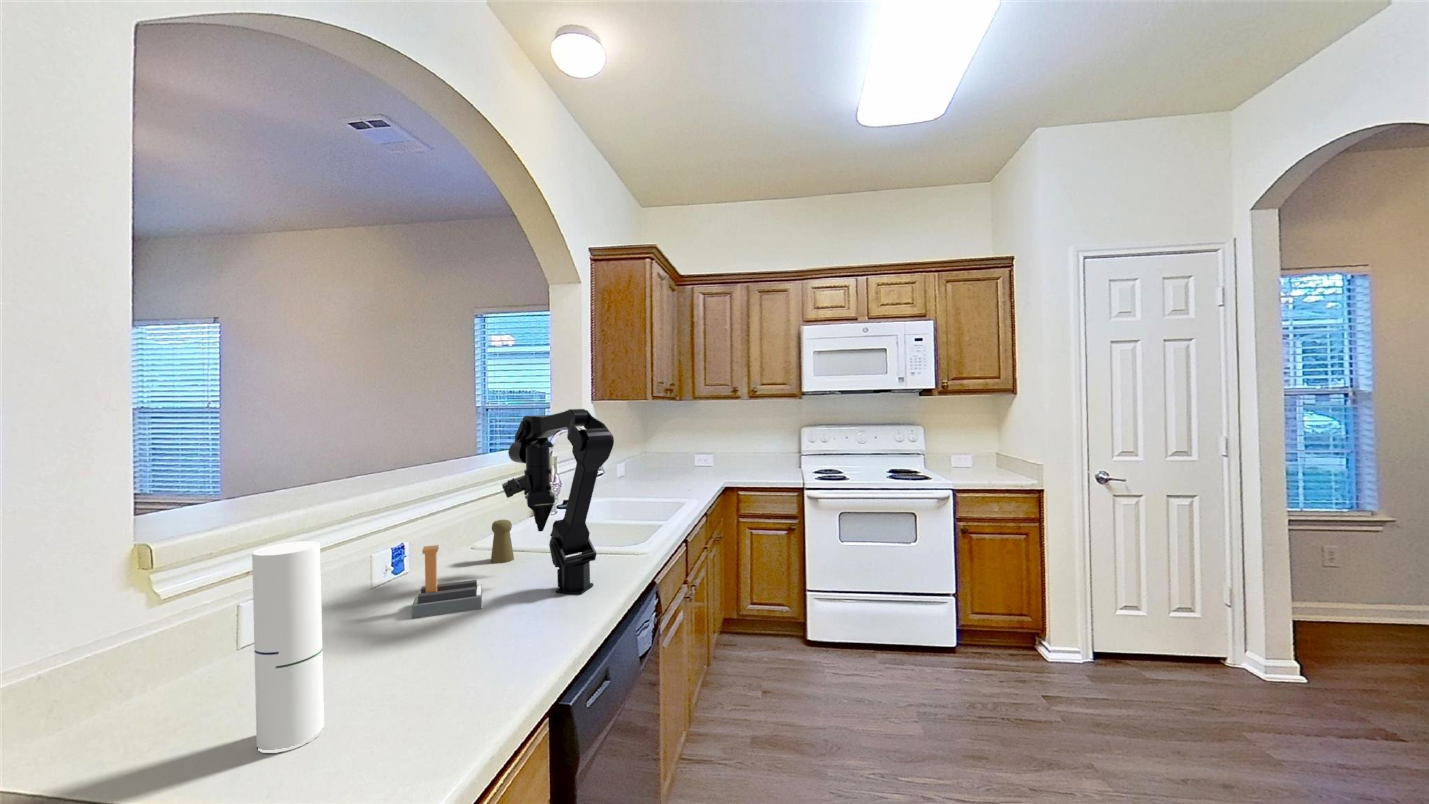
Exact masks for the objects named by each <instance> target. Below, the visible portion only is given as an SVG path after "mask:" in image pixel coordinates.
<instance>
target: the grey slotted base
mask: <svg viewBox="0 0 1429 804" xmlns="http://www.w3.org/2000/svg"><path fill="white" fill-rule="evenodd" d="M482 600H483V584H478V581H477V579H472V580H462V581H457V582H456V581H455V582H447V583H437V592H429V593H426V587H425V585H424V586H421V588H420V591H418V592H417V593H416V594H415V597H414V600H413V602H412V605H411V618H412V619H419V618H425V617H426V618H427V617H433V616H440V615H448V614H454V613H455V614H456V613H461V612H468V611H469V610H470V611H477V610H481V609H482V603H483V601H482Z"/></svg>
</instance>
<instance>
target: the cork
mask: <svg viewBox="0 0 1429 804" xmlns="http://www.w3.org/2000/svg"><path fill="white" fill-rule="evenodd" d="M512 528H513V525H512V522H511V520H508V519H499V520H494V521H493V522H492V524H491V531H492V532H493V539H492V548H491V557H490V563H492V564H504V563H509V562H512V561H514V560H515V557H514V550H513V544H512V538H511V530H512Z"/></svg>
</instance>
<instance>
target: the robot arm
mask: <svg viewBox="0 0 1429 804" xmlns="http://www.w3.org/2000/svg"><path fill="white" fill-rule="evenodd" d="M577 427H584V429H582V428H580V429H579V430H578V429H577ZM566 429H567V434H566V438H567V440H568V442H569V443H570V445H571V446H572V455H573V457H574V459H575V462H576V465H575V470H574V474H573V478H572V482H571V486H570V490H569V491H570V492H569V495H568V500H567V504H566V508H565V512H564V516H563V518H562V519H558V520H557V519H556V520H554V522H553V524H552V528H551V529H552V530H551V533H550V534H549V536H550V540H549V545H548V546H549V552H550V557H551V562H552V564H553V565H554V568H558V569H557V570H556V571H557V572H556V573H557V589H555V593H558V594H559V593H560V594H573V595H574V594H575V595H581V594H584V593H585V592H586V591H588V590H590V589H591V588H592V587H594V583H593V582H591V572H590V571H591V570H590V569H591V568H590V567H591V565H590V562H591V561H593V562H594V561H596V558H597V557H596V556H597V550H596V549H595V547H594V545H593V543H592V541H591V539H590V534H591V533H590V530H589V527H588V526H587V524H586V523H587V521H586V520H587V518H588V517H587V516H588V513H589V511H590V510H589V509H590V506H591V505H590V504H591V501H592V497H593V492H594V489H595V486H596V485H595V484H596V481H597V478H598V473H599V470H600V468H601V467H602V465H604V463H606V462H607V461H608V459H609V458H610V456H611V453H612V450H613V447H614V443H615V439H614V436H613V434H612V432H611V431H610V430H609V428H608V426H606V425H605V423H603V422H602V421H601V420H599V419H597V418H595V417H594V416H592V415H591V413H590V412H589V411H588V409H585V408H571V409H568V410H565V411H561V412H557V413H553V414H542V415H541V414H537V415H524V417H522V420H521V421H520V422H519V425H518V429H517V430H516V432H515V435H514V442H513V443H512V444H511V445H510V446H509V448H508V452H507V454H508V457H509V459H510V461H512V462H515V463H519V464H525V469H524V472H523V473H524V474H523V475H521V476H519V477H515V478H512V479H507V481H506V482H504V483H502V485H501V487H502V489H503V492H504V494H505V496H506V498H507V499H508V498H511V497H514V495H516V494H518V493H521V492H523V495H524V499H526V505H527V507H528V508H529V509H530V510H531V511H532V514H533V517H534V523H535V524H536V527H537V531H538V532H543V531H545V530H544V529H545V526H546V525H547V522H548V518H549V517H550V514H551V512H552V510H553V506H555V505H554V504H555V503H556V500H555V499H556V498H555V494H554V493H553V491H552V485H551V474H552V471H551V463H550V462H551V461H550V460H551V459H550V448H553V447H554V445H553V443H552V442H551V441H550V440H549V438H550V437H552V436H554V435H555V434H556V433H557V431H563V430H566ZM571 555H572V556H571Z"/></svg>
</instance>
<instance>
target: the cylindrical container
mask: <svg viewBox="0 0 1429 804" xmlns="http://www.w3.org/2000/svg"><path fill="white" fill-rule="evenodd" d="M251 554H252V555H251V557H252V558H251V561H252V563H251V565H252V568H251V569H252V601H253V604H252V605H253V640H254V641H253V642H254V643H253V645H254V648H253V649H254V650H253V652H254V686H255V691H254V692H255V724H256V725H255V726H256V727H255V729H256V730H255V731H256V732H255V733H256V738H255V739H256V748H257V747H258V748H259V749H262V750H275V749H282V748H289V747H291V746H295V745H297V744H301V743H302V742H305V741H306V740H307V739H310V738H311V737H314V735H317V734H318V733H319V732H320V731H321V730H322V728H323V727H324V728H325V710H324V709H325V705H324V701H325V700H324V668H323V667H324V662H323V661H324V658H323V656H324V655H323V621H322V620H323V618H322V616H323V615H322V613H323V612H322V576H321V575H322V572H321V568H322V567H321V543H320V542H319V541H313V540H307V541H306V540H305V541H304V540H303V541H302V540H301V541H291V542H284V543H277V544H271V545H266V546H263V547H260V548H257V549H255V550H254V551H252V552H251Z"/></svg>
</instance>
